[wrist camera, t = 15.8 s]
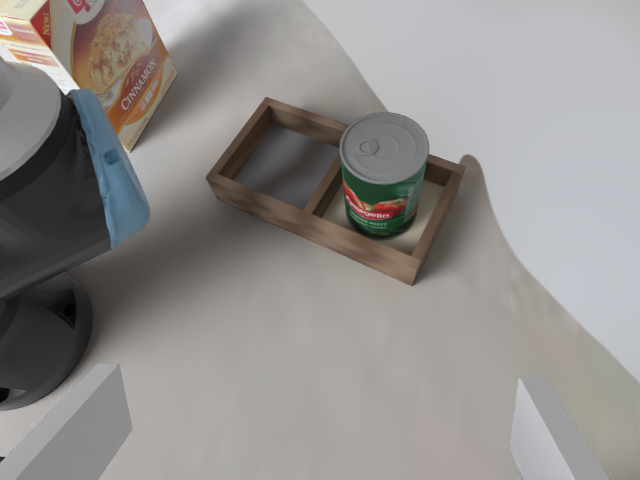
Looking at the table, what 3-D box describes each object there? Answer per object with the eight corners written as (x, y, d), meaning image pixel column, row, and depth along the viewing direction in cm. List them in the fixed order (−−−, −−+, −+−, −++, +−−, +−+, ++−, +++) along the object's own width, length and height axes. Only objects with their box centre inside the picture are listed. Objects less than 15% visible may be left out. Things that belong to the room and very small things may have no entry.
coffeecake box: (131, 154, 57) (28, 20, 40) (85, 144, 59) (-33, 11, 41) (180, 72, 63) (110, -74, 46) (138, 65, 65) (54, -80, 47)
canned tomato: (415, 178, 50) (426, 110, 40) (419, 240, 46) (433, 181, 36) (345, 180, 50) (340, 112, 41) (344, 241, 47) (338, 183, 37)
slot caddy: (217, 199, 52) (205, 177, 48) (273, 122, 57) (266, 97, 53) (412, 286, 45) (416, 269, 41) (457, 190, 50) (465, 166, 46)
